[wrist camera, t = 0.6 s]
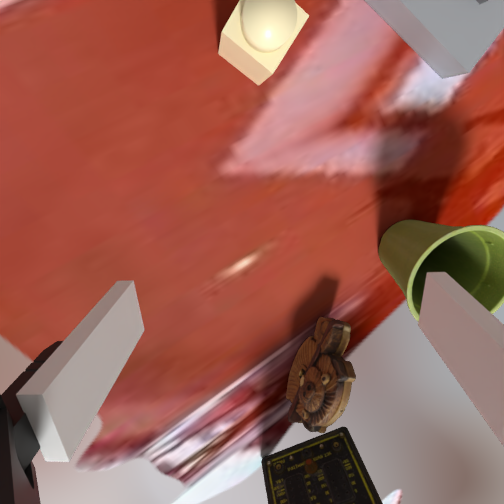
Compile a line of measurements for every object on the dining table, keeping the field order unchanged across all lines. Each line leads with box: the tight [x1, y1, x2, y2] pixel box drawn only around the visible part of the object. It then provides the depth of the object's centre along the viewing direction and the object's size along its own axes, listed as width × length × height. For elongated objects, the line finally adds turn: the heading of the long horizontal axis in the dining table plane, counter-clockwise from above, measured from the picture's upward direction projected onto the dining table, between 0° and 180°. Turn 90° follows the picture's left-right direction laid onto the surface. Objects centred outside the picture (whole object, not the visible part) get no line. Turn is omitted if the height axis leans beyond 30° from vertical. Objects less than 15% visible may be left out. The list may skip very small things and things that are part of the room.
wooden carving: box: [286, 317, 356, 433], centre depth 43 cm, size 16×5×10 cm, turn 165°
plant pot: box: [378, 220, 504, 322], centre depth 38 cm, size 12×12×11 cm
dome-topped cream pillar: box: [218, 0, 309, 86], centre depth 28 cm, size 5×5×10 cm
